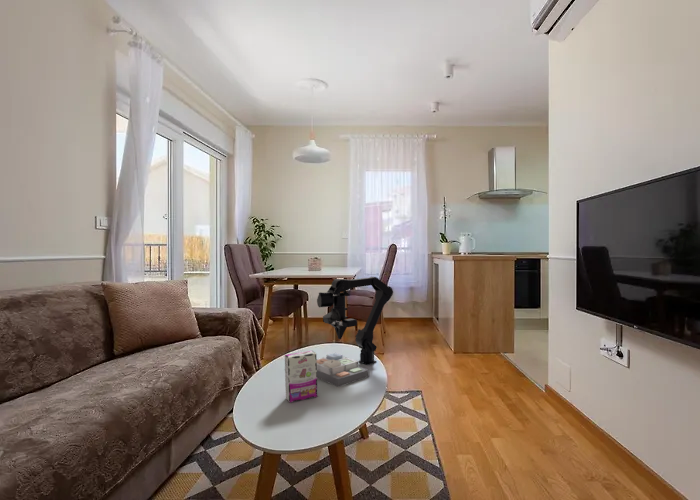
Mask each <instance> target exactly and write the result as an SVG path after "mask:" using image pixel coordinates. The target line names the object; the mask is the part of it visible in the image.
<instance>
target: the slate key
mask: <svg viewBox="0 0 700 500" xmlns="http://www.w3.org/2000/svg"><path fill="white" fill-rule="evenodd" d="M326 357H327V359H330V360H332V359H334V360H338V359H342V358H343V357H344V356H343V354H340V353H337V352H334V353H333V352H332V353H329V354H326Z"/></svg>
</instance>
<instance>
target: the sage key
mask: <svg viewBox="0 0 700 500" xmlns="http://www.w3.org/2000/svg"><path fill="white" fill-rule="evenodd" d="M339 362H341V363H342V364H347V363H351V362H353V361H350V360H347V359H344V360H340V361H339Z"/></svg>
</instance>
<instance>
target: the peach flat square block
mask: <svg viewBox="0 0 700 500" xmlns="http://www.w3.org/2000/svg"><path fill="white" fill-rule="evenodd" d="M325 361H328V360H325V359H321V360H317V363H319V364H323V363H324V362H325Z"/></svg>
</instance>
